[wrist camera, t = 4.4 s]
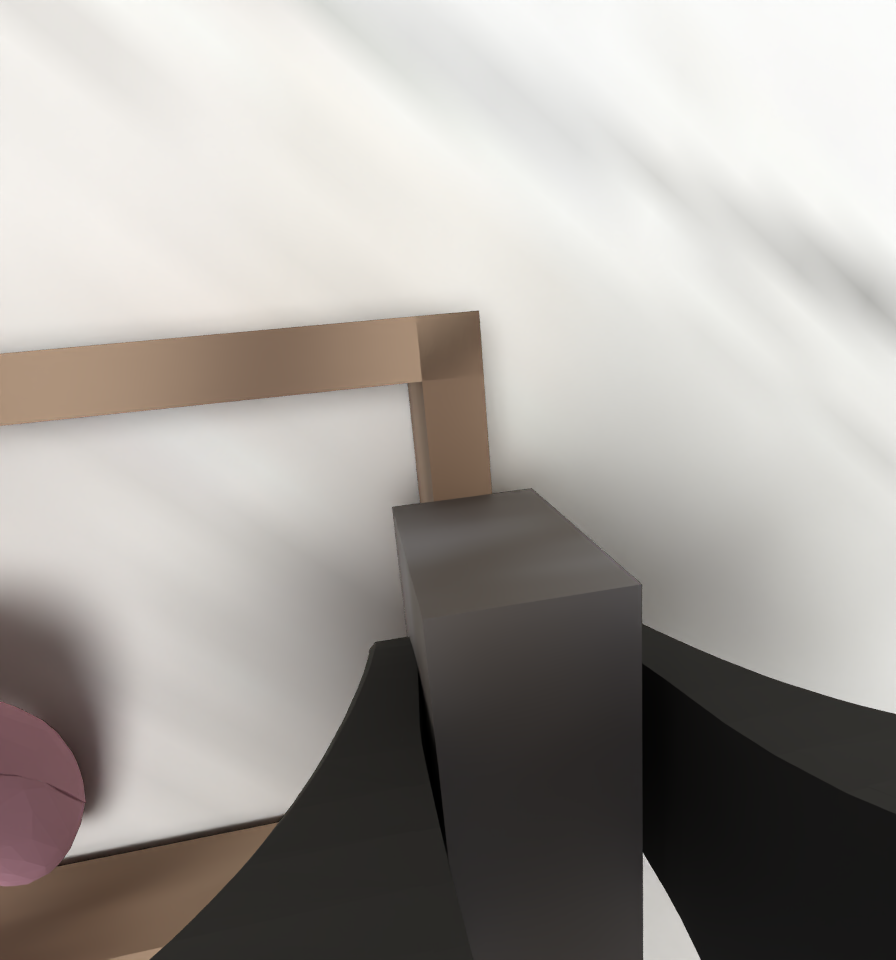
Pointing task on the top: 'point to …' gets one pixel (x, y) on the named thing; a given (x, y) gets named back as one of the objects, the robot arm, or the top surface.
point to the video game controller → (35, 797)
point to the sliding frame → (438, 651)
